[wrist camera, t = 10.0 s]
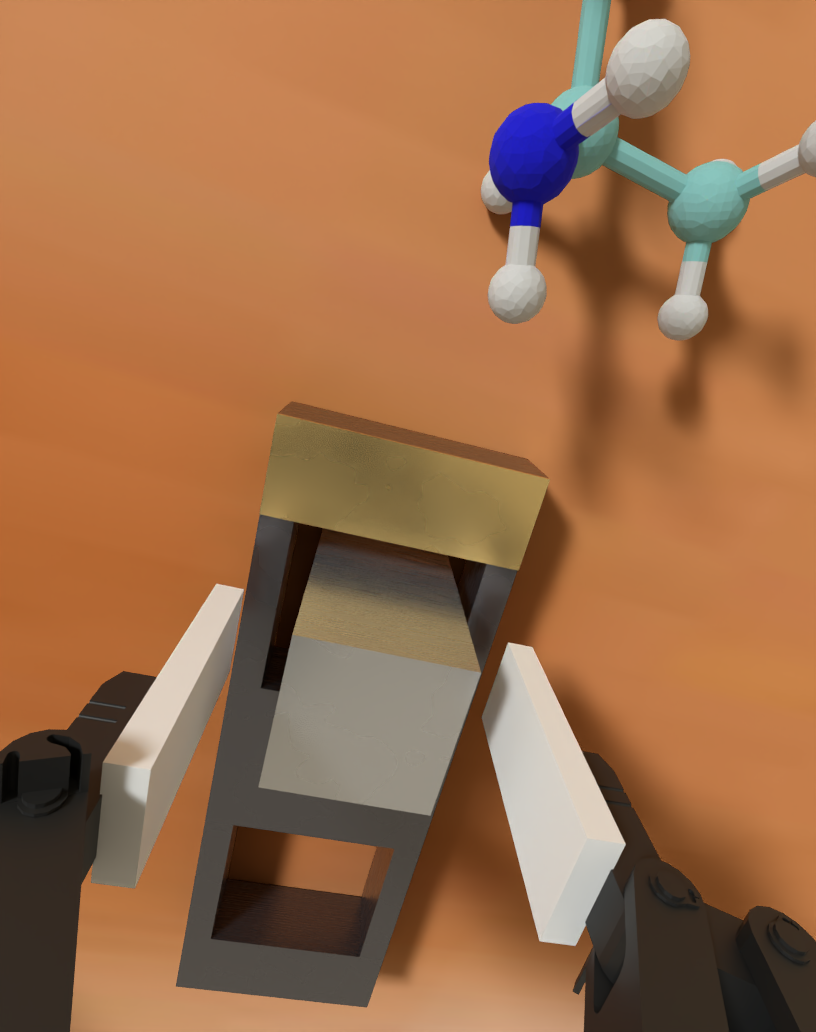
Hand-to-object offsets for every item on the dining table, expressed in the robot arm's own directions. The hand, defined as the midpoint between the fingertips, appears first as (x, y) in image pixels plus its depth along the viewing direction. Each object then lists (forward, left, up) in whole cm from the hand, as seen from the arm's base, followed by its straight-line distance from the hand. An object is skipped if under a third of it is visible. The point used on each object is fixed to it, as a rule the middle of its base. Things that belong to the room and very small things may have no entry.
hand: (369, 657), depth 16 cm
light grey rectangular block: (0, 0, -4) cm, 4 cm away
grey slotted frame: (0, -6, -4) cm, 7 cm away
